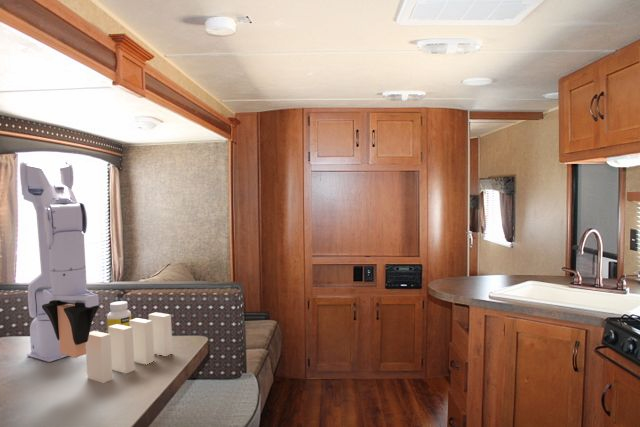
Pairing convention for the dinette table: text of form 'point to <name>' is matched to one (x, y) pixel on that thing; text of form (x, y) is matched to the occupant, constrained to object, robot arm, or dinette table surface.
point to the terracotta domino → (68, 335)
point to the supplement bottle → (118, 314)
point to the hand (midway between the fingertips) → (72, 340)
